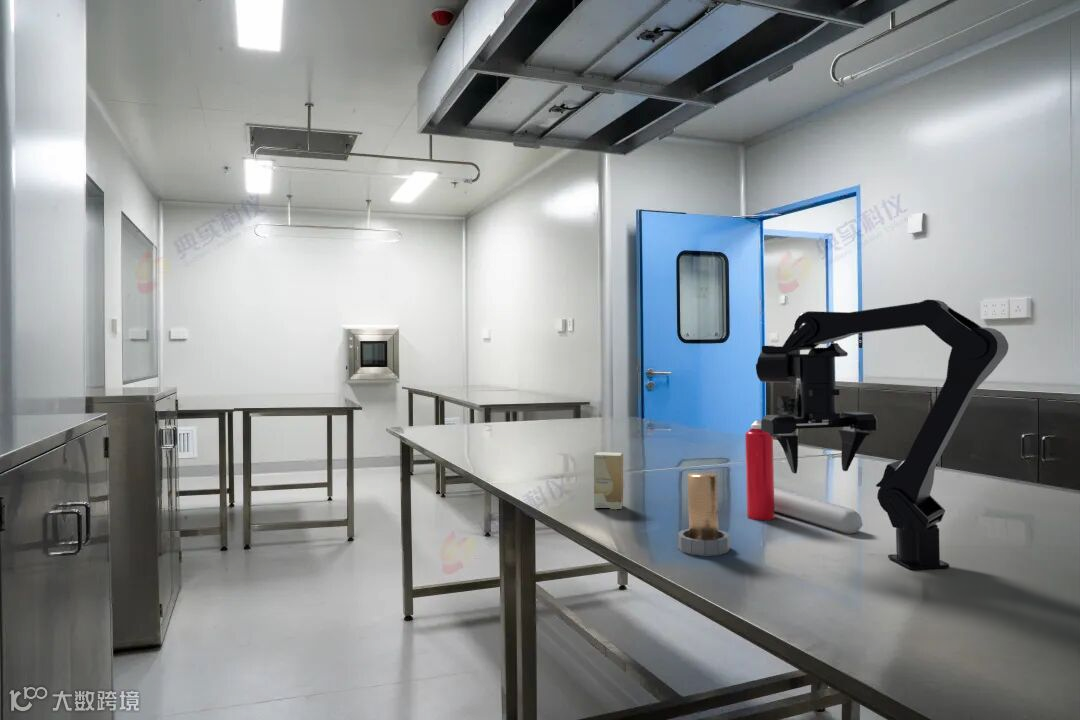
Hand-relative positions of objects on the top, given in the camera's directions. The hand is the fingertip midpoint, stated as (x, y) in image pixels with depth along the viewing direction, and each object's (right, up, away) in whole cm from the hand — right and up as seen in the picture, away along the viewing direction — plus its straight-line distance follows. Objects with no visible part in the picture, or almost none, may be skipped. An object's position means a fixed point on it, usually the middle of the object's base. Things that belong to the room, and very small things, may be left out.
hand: (819, 471), depth 123 cm
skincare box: (-33, -14, +35) cm, 50 cm away
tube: (+5, -13, +18) cm, 23 cm away
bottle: (-3, -13, +22) cm, 26 cm away
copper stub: (-20, -14, 0) cm, 24 cm away
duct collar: (-20, -14, 0) cm, 24 cm away
